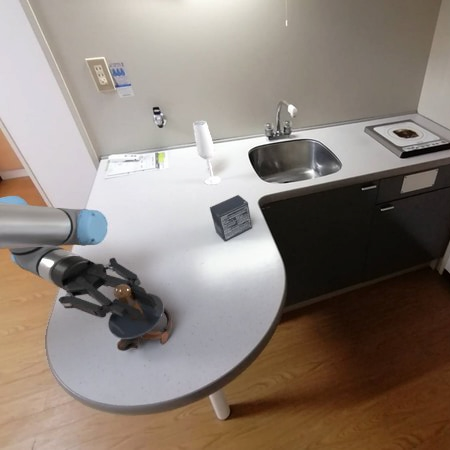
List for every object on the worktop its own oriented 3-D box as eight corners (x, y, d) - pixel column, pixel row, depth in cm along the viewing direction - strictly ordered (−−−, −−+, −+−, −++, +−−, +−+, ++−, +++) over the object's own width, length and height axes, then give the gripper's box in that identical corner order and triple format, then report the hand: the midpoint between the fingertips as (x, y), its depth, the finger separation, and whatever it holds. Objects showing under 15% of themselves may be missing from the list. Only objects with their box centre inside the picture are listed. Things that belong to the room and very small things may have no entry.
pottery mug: (147, 312, 77) (154, 294, 73) (174, 337, 77) (184, 320, 72) (102, 346, 67) (109, 327, 63) (134, 375, 67) (142, 358, 62)
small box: (242, 218, 105) (238, 193, 99) (253, 228, 102) (249, 202, 95) (215, 232, 100) (208, 206, 93) (225, 242, 96) (219, 216, 90)
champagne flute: (224, 180, 125) (213, 122, 109) (210, 186, 121) (196, 128, 106) (215, 174, 128) (202, 117, 113) (201, 180, 125) (186, 123, 109)
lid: (116, 349, 60) (94, 322, 54) (104, 312, 67) (82, 283, 61) (171, 319, 65) (156, 290, 59) (154, 287, 72) (140, 258, 66)
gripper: (106, 259, 76) (179, 291, 68) (43, 307, 65) (121, 352, 58) (93, 237, 71) (169, 269, 63) (22, 285, 60) (104, 331, 53)
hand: (146, 308), depth 60 cm, fingers closed on lid, 3 cm apart
